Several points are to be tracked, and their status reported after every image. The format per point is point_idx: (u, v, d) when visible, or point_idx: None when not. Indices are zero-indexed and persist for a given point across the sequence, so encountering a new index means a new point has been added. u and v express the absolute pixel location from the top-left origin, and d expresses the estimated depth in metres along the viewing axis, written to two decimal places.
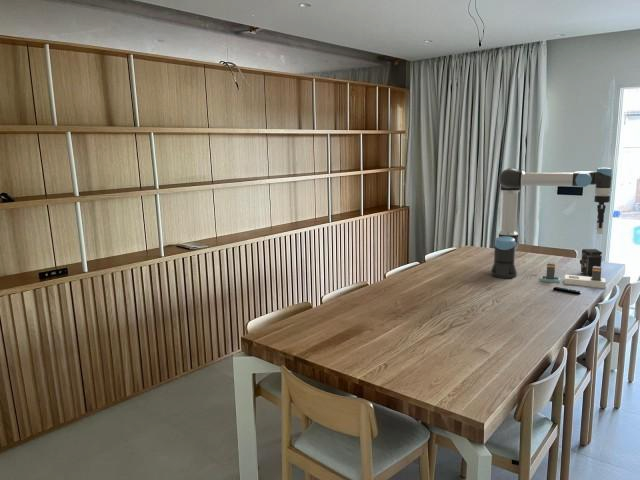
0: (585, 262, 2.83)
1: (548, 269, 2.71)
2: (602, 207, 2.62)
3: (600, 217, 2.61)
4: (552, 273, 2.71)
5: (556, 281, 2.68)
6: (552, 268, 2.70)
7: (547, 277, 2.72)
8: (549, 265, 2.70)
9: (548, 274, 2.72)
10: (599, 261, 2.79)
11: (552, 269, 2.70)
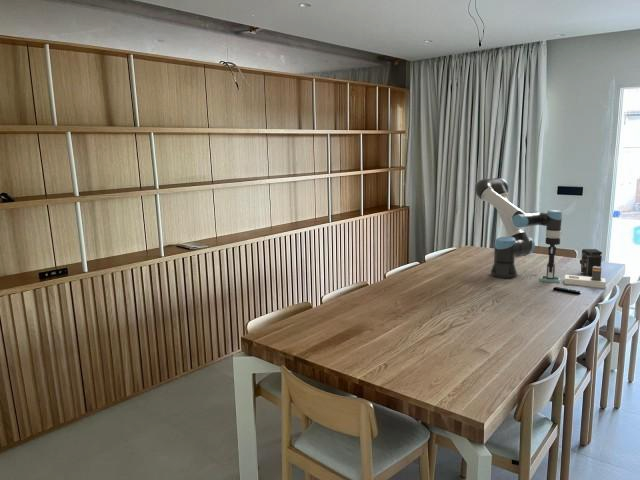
0: (585, 262, 2.83)
1: None
2: (552, 253, 2.65)
3: (550, 262, 2.67)
4: None
5: (556, 281, 2.68)
6: None
7: (547, 277, 2.72)
8: None
9: None
10: (599, 261, 2.79)
11: None
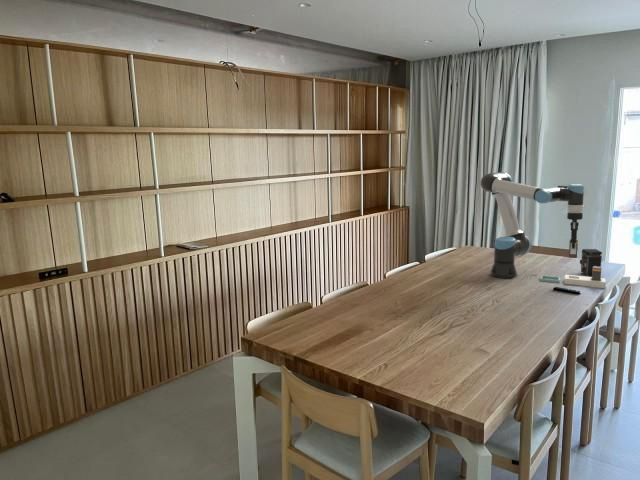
0: (585, 262, 2.83)
1: None
2: (574, 227, 2.57)
3: (572, 238, 2.58)
4: None
5: (556, 281, 2.68)
6: None
7: (570, 254, 2.64)
8: None
9: (570, 250, 2.63)
10: (599, 261, 2.79)
11: None
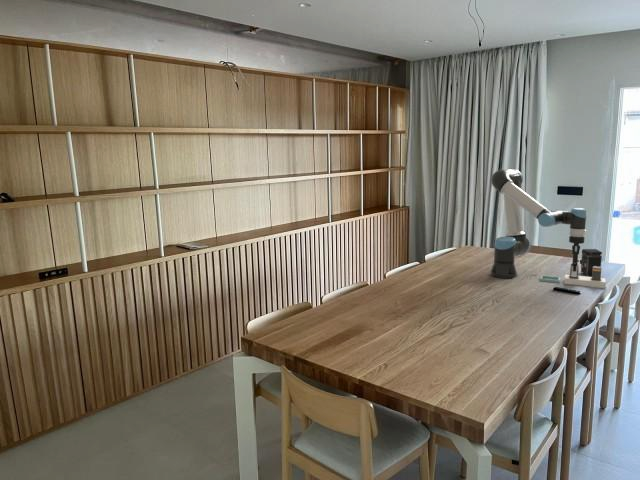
0: (585, 262, 2.83)
1: (571, 271, 2.65)
2: (576, 250, 2.58)
3: (574, 261, 2.59)
4: None
5: (556, 281, 2.68)
6: None
7: None
8: None
9: None
10: (599, 261, 2.79)
11: None
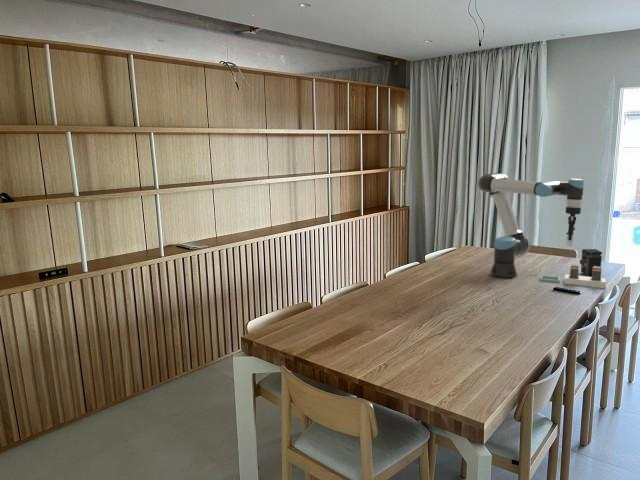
0: (585, 262, 2.83)
1: (571, 271, 2.65)
2: (572, 219, 2.58)
3: (570, 229, 2.57)
4: (576, 275, 2.65)
5: (556, 281, 2.68)
6: (576, 270, 2.64)
7: None
8: (573, 267, 2.65)
9: (571, 276, 2.66)
10: (599, 261, 2.79)
11: (575, 271, 2.64)
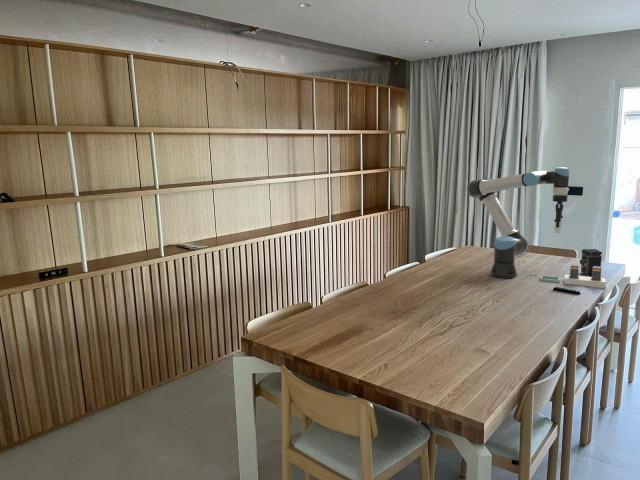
0: (585, 262, 2.83)
1: (571, 271, 2.65)
2: (559, 206, 2.64)
3: (557, 216, 2.63)
4: (576, 275, 2.65)
5: (556, 281, 2.68)
6: (576, 270, 2.64)
7: None
8: (573, 267, 2.65)
9: (571, 276, 2.66)
10: (599, 261, 2.79)
11: (575, 271, 2.64)
